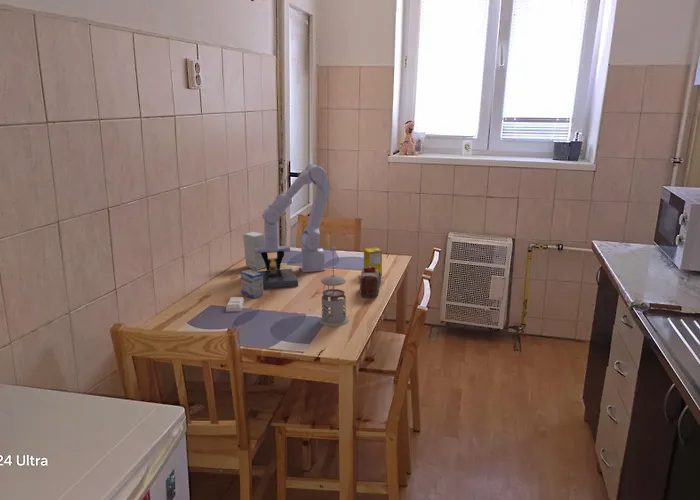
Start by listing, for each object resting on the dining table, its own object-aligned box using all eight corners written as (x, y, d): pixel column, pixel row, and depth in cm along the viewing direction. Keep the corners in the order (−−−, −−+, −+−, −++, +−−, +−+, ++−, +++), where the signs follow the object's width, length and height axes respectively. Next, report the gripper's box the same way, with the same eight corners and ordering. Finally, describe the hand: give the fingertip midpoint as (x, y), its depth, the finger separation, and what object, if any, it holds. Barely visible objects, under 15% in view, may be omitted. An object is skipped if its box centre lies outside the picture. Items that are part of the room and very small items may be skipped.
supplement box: (376, 272, 236) (376, 247, 233) (382, 276, 230) (382, 250, 228) (363, 273, 234) (363, 248, 231) (368, 277, 229) (368, 251, 226)
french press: (325, 328, 178) (324, 251, 172) (312, 316, 189) (311, 243, 182) (353, 323, 182) (353, 248, 176) (339, 311, 192) (339, 240, 186)
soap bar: (244, 303, 202) (243, 296, 201) (240, 312, 193) (240, 305, 193) (230, 303, 202) (229, 296, 201) (226, 312, 193) (225, 305, 192)
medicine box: (241, 294, 210) (239, 271, 208) (250, 291, 214) (249, 269, 211) (254, 298, 205) (253, 276, 203) (264, 295, 208) (262, 273, 206)
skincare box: (267, 267, 243) (265, 233, 240) (255, 270, 239) (254, 236, 235) (256, 263, 249) (254, 230, 245) (244, 266, 245) (242, 233, 241)
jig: (291, 274, 234) (291, 263, 232) (298, 286, 219) (297, 275, 217) (252, 277, 230) (251, 267, 228) (256, 290, 215) (255, 278, 213)
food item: (360, 286, 219) (360, 261, 216) (381, 286, 218) (381, 262, 216) (359, 298, 205) (359, 272, 203) (381, 298, 205) (381, 272, 202)
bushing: (277, 271, 238) (276, 257, 236) (278, 274, 234) (278, 260, 233) (267, 272, 237) (267, 258, 235) (269, 274, 233) (268, 260, 232)
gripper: (287, 234, 237) (288, 265, 241) (252, 236, 234) (254, 268, 237) (290, 238, 231) (291, 269, 234) (254, 240, 227) (256, 272, 230)
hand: (273, 269), depth 235 cm, fingers closed on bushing, 4 cm apart
